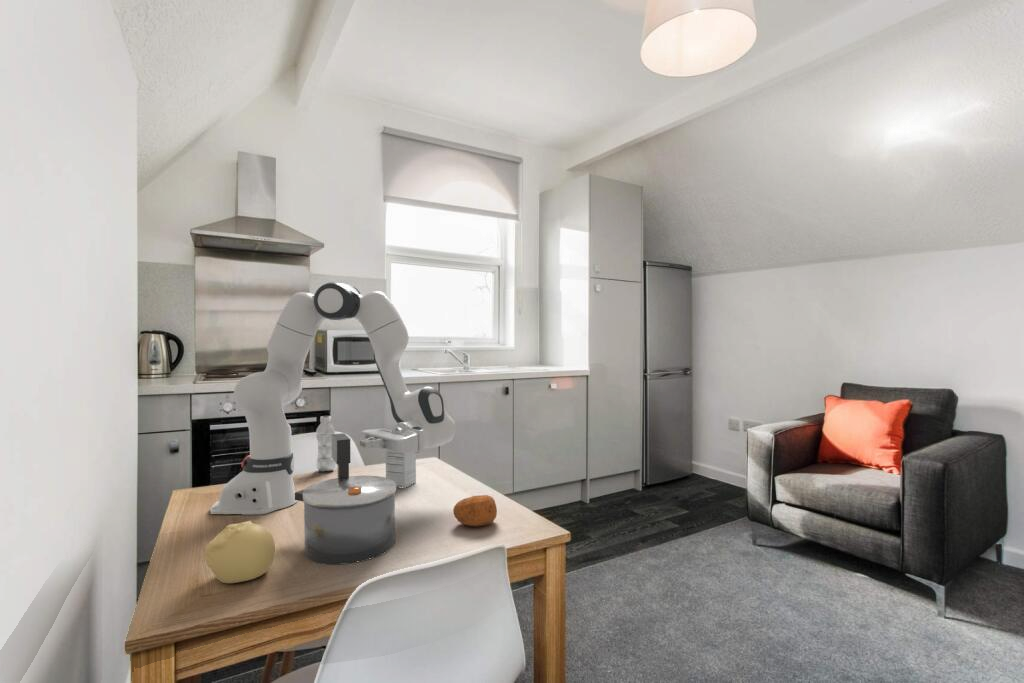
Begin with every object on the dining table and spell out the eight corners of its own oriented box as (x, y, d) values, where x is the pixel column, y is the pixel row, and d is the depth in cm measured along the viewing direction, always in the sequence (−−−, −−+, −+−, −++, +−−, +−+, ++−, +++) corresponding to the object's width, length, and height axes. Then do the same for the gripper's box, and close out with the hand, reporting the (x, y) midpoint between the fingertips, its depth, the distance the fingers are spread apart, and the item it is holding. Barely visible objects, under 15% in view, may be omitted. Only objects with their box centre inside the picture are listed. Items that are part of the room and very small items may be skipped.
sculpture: (228, 564, 106) (227, 513, 106) (284, 563, 107) (284, 513, 107) (194, 591, 95) (194, 534, 95) (258, 590, 95) (257, 533, 95)
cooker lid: (406, 498, 111) (406, 450, 111) (307, 513, 102) (307, 461, 102) (377, 469, 136) (377, 430, 136) (295, 479, 127) (295, 437, 127)
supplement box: (397, 480, 169) (397, 443, 169) (416, 482, 166) (416, 445, 166) (385, 486, 162) (384, 448, 162) (404, 489, 159) (404, 449, 159)
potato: (497, 531, 124) (496, 501, 123) (451, 532, 123) (451, 502, 123) (496, 518, 133) (496, 490, 133) (454, 519, 132) (454, 491, 132)
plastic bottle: (329, 473, 178) (329, 418, 178) (312, 472, 179) (312, 417, 179) (339, 469, 184) (338, 415, 184) (322, 468, 186) (322, 414, 186)
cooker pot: (412, 537, 120) (412, 487, 120) (351, 571, 102) (350, 513, 102) (331, 519, 132) (331, 474, 132) (264, 547, 114) (263, 495, 114)
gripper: (386, 421, 150) (343, 427, 140) (427, 430, 135) (383, 437, 125) (386, 442, 150) (343, 450, 140) (427, 453, 135) (383, 462, 125)
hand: (362, 444), depth 132 cm, fingers closed
